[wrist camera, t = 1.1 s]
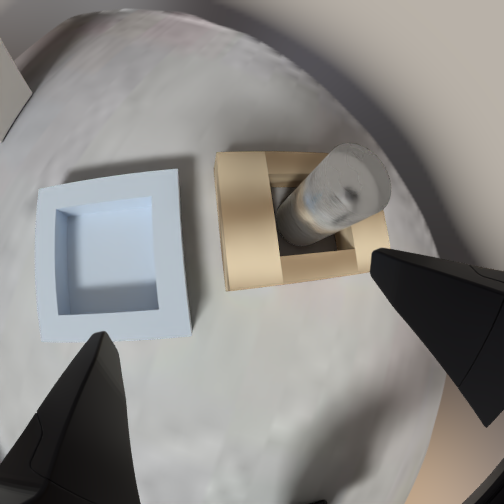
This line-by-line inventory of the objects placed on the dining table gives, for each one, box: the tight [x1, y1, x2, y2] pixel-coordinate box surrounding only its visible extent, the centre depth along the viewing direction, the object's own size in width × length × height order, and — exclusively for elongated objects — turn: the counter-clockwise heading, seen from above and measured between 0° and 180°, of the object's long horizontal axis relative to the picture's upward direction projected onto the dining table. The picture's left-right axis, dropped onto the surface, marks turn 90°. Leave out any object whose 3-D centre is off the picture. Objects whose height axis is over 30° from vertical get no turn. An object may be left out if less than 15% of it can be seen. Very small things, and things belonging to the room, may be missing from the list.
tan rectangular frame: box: [214, 151, 390, 291], centre depth 23 cm, size 10×14×3 cm
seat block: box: [35, 169, 192, 342], centre depth 19 cm, size 12×12×3 cm
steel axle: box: [276, 143, 391, 246], centre depth 19 cm, size 4×4×10 cm
